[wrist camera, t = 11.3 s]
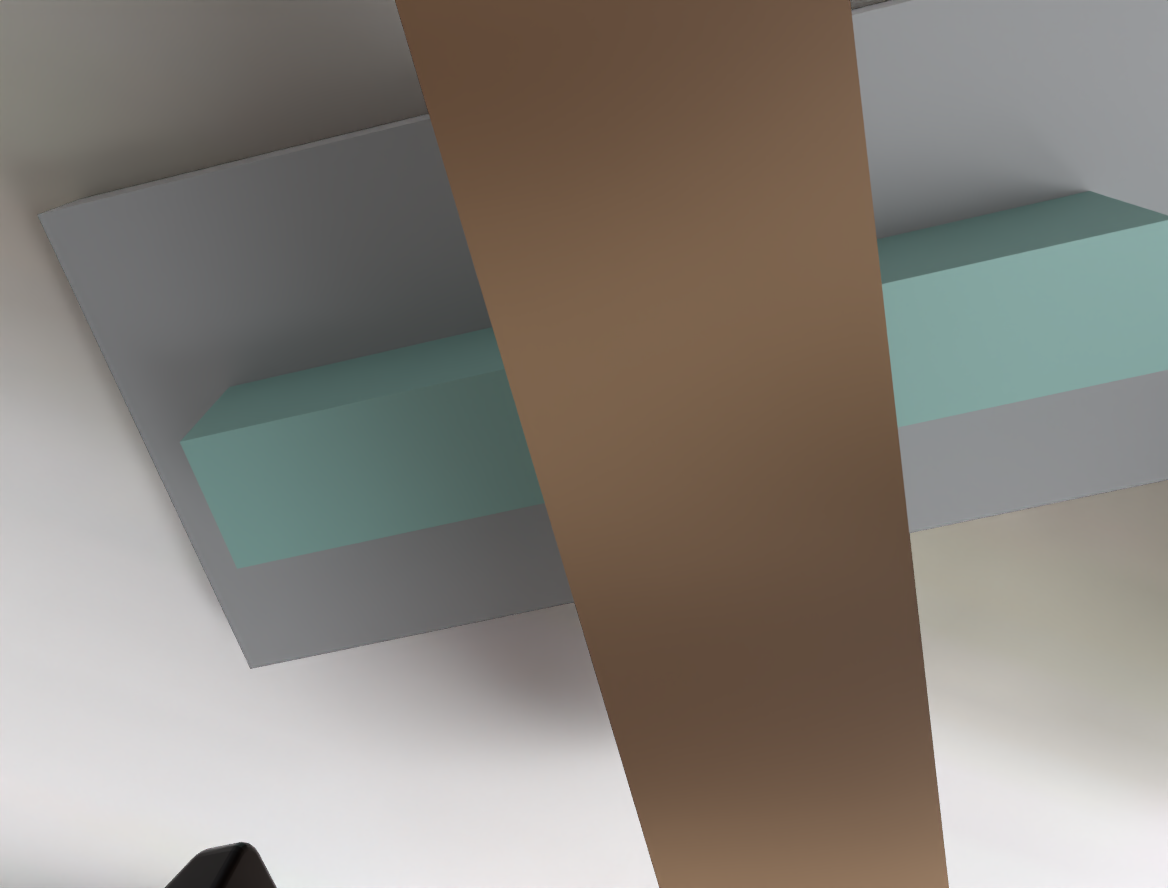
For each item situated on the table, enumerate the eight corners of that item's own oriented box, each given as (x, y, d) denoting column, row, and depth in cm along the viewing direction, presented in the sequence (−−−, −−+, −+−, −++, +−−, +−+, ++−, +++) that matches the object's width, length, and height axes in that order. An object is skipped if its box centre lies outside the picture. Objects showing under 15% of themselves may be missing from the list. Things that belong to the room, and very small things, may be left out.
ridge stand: (1161, -67, 16) (1340, -93, 12) (1145, 444, 20) (1275, 538, 16) (77, 199, 17) (-50, 246, 14) (270, 627, 21) (211, 751, 18)
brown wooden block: (848, 860, 19) (990, 1267, 13) (709, 888, 20) (782, 1301, 13) (615, -487, 10) (709, -1276, 4) (364, -409, 11) (85, -1042, 4)
